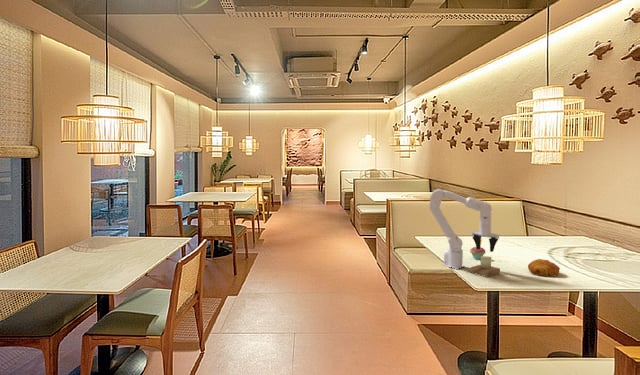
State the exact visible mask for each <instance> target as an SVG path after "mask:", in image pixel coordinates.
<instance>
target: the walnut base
mask: <svg viewBox="0 0 640 375" xmlns="http://www.w3.org/2000/svg"><path fill="white" fill-rule="evenodd" d="M471 272H472V274H474V273H477V274H476V275H478V274H480V275H479V276H482V275H485V276H484V277H486V276H488V277H487V278H490V277H489V276H491V277H493V276H492V275H494V276H497V274H498V275H500V274H501V268H500V267H497V266H492V265H491V269H484V268H481V264H478V265H474V266H471V269H470V273H471Z"/></svg>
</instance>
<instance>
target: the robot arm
mask: <svg viewBox="0 0 640 375" xmlns="http://www.w3.org/2000/svg"><path fill="white" fill-rule="evenodd" d="M443 200H445V201H446V200H453V201H456V202H458V203H462V204H463V205H465V207H466V208H468V209H471V210H474V211H475V212H476V211H477V212H479V231H471V236H472V239H473V241H474V244H475V247H477V249H480V242H481V239H482V238H488V241H489V242H488V243H489V251H490V252H492V253H494V250H495V246H496V244H497V242H498V240H499V239H500V234H495V233H492V213H491V212H492V206H491V204H490V203H488V202H487V201H484V200H482V199H481V200H479V199H476V197H475V196H469V197H464V196H462V195H460V194H457V193H454V192H452V191H449V190H446V189H441V188H436V189H435V190H433V191H432V192H431V195H430V197H429V210H430V211H431V212H430V213H432V215H433V217H434V218H435V221H436V222H437V224H438V225H439V227H440V228H441V230H442V232H443V233H444V235H445V238H446V239H447V242H448V244H449V245H448V246H449V248H448V249H445V250H444V254H443V264H442V266H443V267H448V268H451V267H452V268H451V269H454V268H455V270H459V268H460V269H462V268H461V267H464V268H466V267H465V266H466V265H463V263H464V261H463V259H464V258H463V257H464V256H463V255H464V254H463V252H464V251H463V249H462V247H463V240H462V239H461V238H460V237H458V234H456V233H455V232H454V229H453V228H452V227H451V225H450V223H449V222H448V220H447V218H446V217H445V215H444V213H443V211H442V209H441V208H440V206H441V204H442V203H441V202H442V201H443ZM481 243H482V242H481ZM462 265H463V266H462ZM450 266H451V267H450Z"/></svg>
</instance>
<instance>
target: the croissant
mask: <svg viewBox="0 0 640 375" xmlns="http://www.w3.org/2000/svg"><path fill="white" fill-rule="evenodd" d="M527 268H528V271H529V273H530V274H533V275H535V276H540V277H550V278H551V277H556V276H558V275H559V274H560V270H561V268H560V267H559V265H557V264H556V263H554V262H552V261H550V260H549V259H541V258H538V259H533V260H532V261H531V262H530V263H528V265H527Z"/></svg>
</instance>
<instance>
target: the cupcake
mask: <svg viewBox="0 0 640 375" xmlns="http://www.w3.org/2000/svg"><path fill="white" fill-rule="evenodd" d="M481 246H482V238H481V242H480V249H477V247H476V246H473V247H471V248H470V250H469V252H470V254H471V255H472V258H473V259H474V258H475V259H474V260H477V259H481V256H485V254H486V249H485V248H483V247H481Z"/></svg>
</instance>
